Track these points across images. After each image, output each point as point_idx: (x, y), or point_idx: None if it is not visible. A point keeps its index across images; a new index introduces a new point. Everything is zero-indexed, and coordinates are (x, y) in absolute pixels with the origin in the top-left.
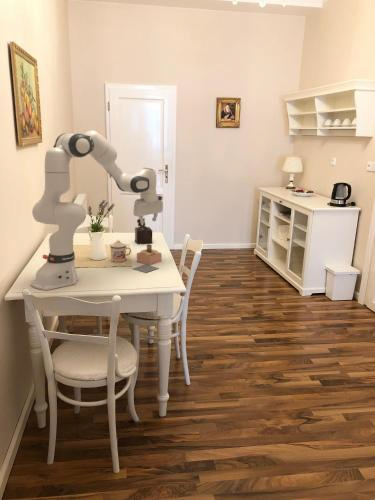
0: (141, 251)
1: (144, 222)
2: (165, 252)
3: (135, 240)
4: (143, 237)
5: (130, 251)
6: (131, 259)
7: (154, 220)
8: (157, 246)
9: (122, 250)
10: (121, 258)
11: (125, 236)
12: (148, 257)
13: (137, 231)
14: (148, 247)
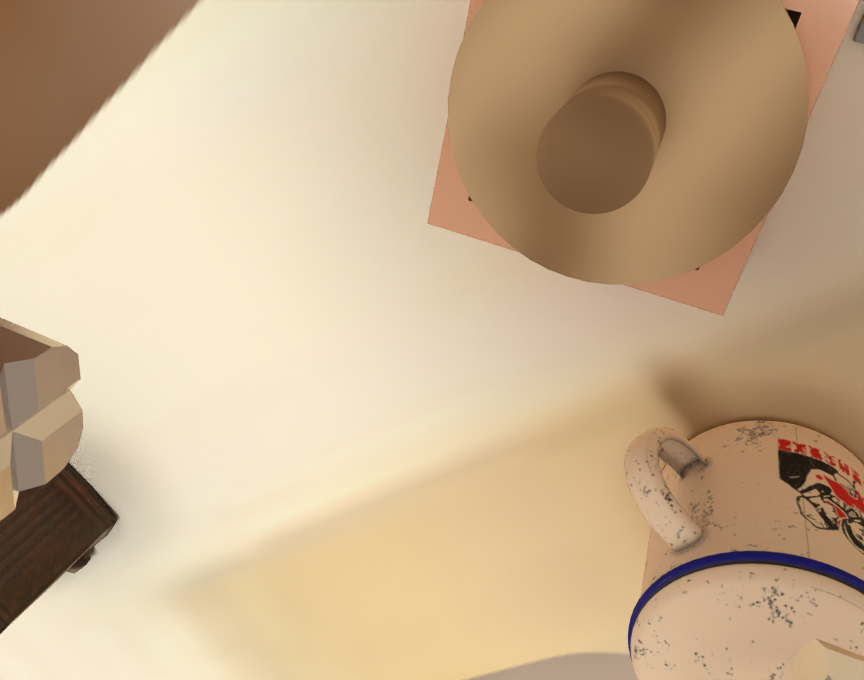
0: (662, 261)
1: (827, 663)
2: (135, 90)
3: (70, 569)
4: (13, 517)
5: (658, 444)
6: (661, 366)
7: (42, 351)
8: (27, 303)
9: (841, 544)
10: (847, 471)
11: (22, 676)
12: (853, 3)
13: (6, 625)
14: (655, 136)
